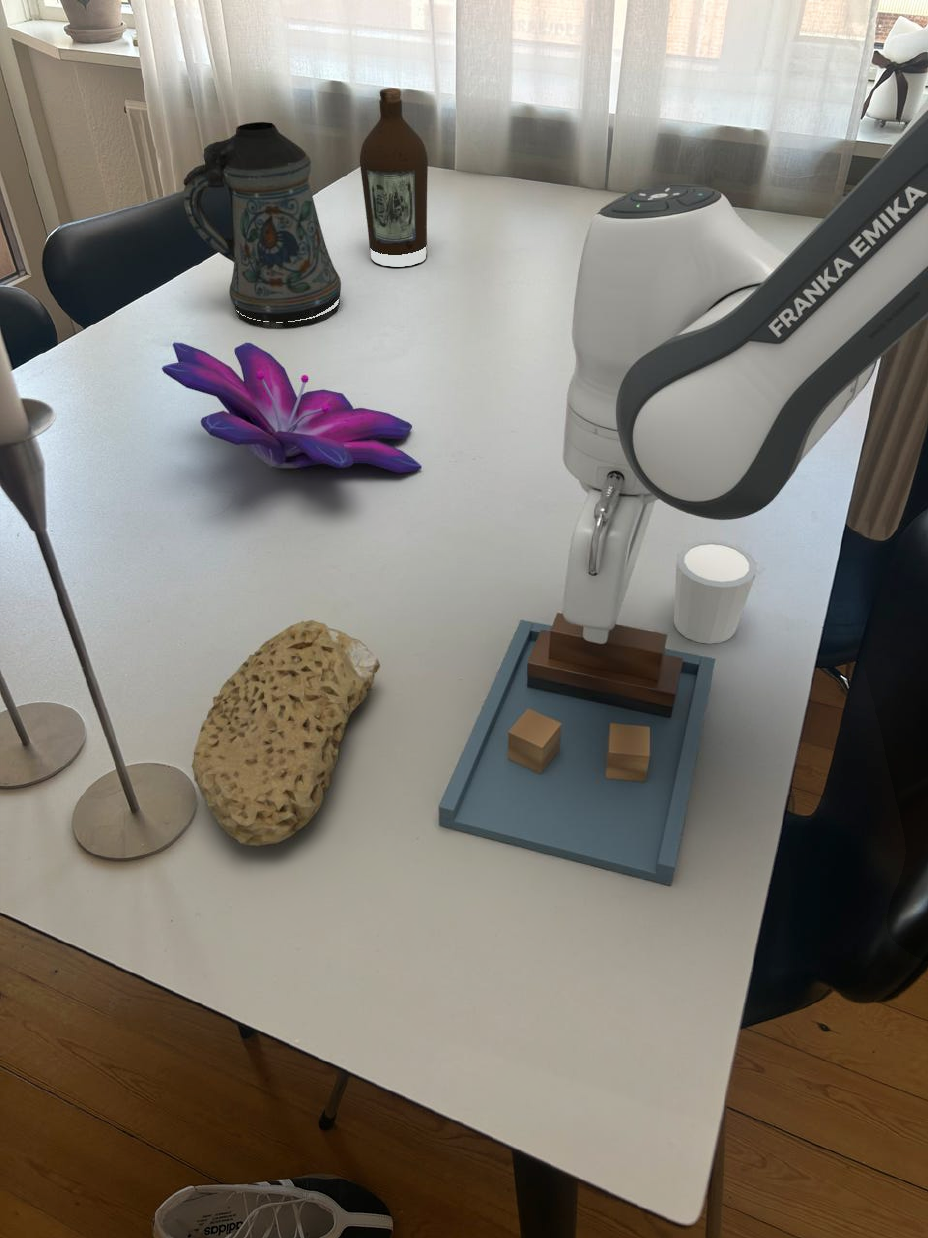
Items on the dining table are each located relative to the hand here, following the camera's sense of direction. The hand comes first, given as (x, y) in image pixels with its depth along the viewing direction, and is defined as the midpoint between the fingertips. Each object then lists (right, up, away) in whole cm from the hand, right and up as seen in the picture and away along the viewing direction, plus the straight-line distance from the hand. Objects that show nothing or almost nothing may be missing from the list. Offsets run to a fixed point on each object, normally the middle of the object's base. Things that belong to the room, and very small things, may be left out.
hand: (609, 598), depth 74 cm
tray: (-2, -12, +2) cm, 12 cm away
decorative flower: (-30, +17, +37) cm, 51 cm away
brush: (0, -7, +6) cm, 9 cm away
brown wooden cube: (-6, -11, -1) cm, 12 cm away
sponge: (-25, -13, +2) cm, 28 cm away
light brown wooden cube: (+1, -12, -2) cm, 12 cm away
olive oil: (-22, +58, +86) cm, 106 cm away
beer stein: (-39, +44, +70) cm, 92 cm away
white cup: (+11, -2, +14) cm, 18 cm away
